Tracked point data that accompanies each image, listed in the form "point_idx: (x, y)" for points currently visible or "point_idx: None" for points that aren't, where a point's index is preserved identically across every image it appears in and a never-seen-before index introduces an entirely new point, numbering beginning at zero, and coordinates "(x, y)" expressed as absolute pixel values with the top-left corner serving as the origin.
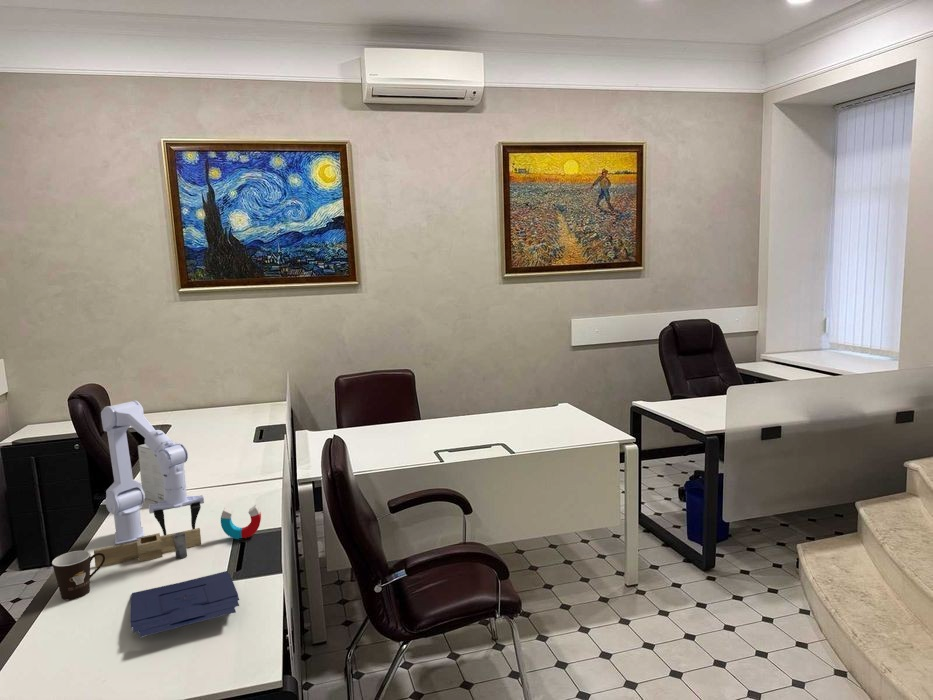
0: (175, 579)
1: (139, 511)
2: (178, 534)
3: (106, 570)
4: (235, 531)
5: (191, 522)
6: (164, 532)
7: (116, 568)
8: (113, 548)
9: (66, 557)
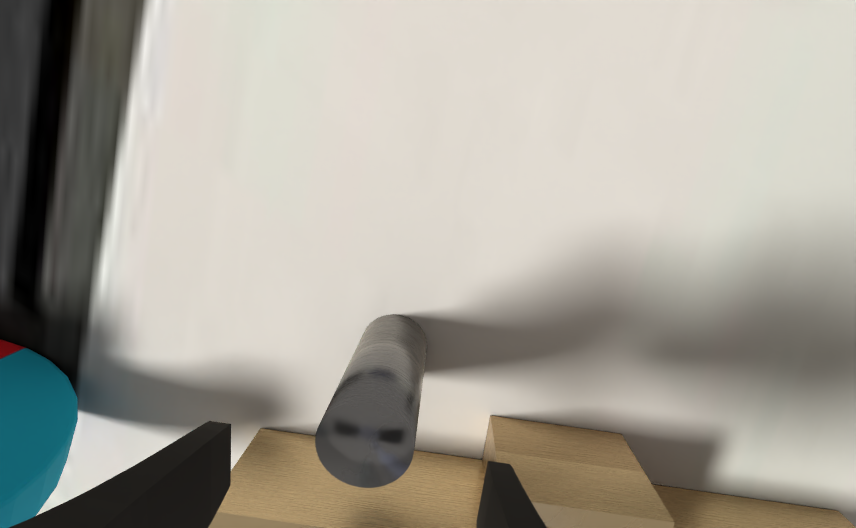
0: (505, 26)
1: None
2: (372, 451)
3: (803, 446)
4: (3, 391)
5: (201, 524)
6: (510, 480)
7: (749, 436)
8: None
9: None
